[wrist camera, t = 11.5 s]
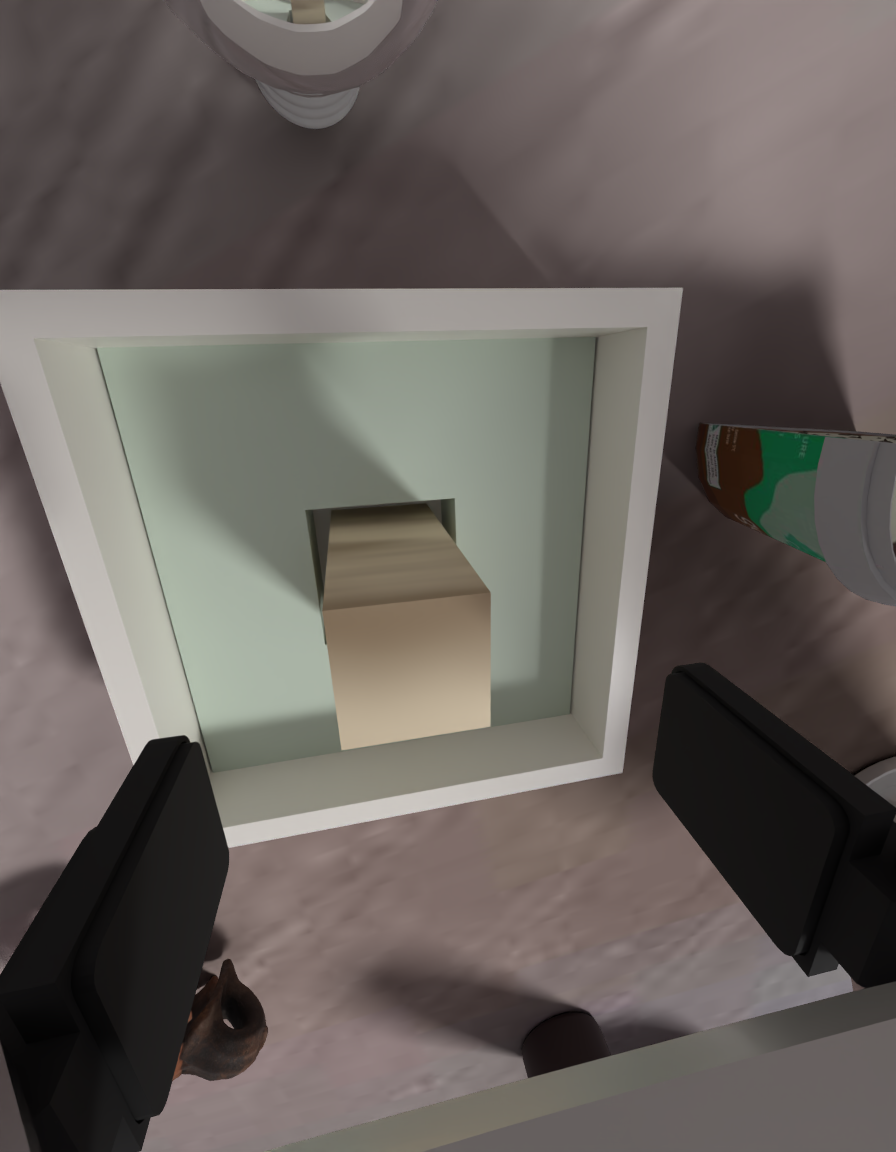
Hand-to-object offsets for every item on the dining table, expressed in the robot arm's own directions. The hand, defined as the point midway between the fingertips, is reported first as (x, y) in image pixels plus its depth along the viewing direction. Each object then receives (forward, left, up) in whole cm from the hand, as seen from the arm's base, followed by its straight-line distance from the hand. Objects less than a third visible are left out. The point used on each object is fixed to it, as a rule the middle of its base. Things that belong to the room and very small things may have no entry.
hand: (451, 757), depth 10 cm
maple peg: (0, 0, -13) cm, 13 cm away
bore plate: (0, 0, -14) cm, 14 cm away
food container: (+1, -20, -14) cm, 24 cm away
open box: (0, 0, -14) cm, 14 cm away
